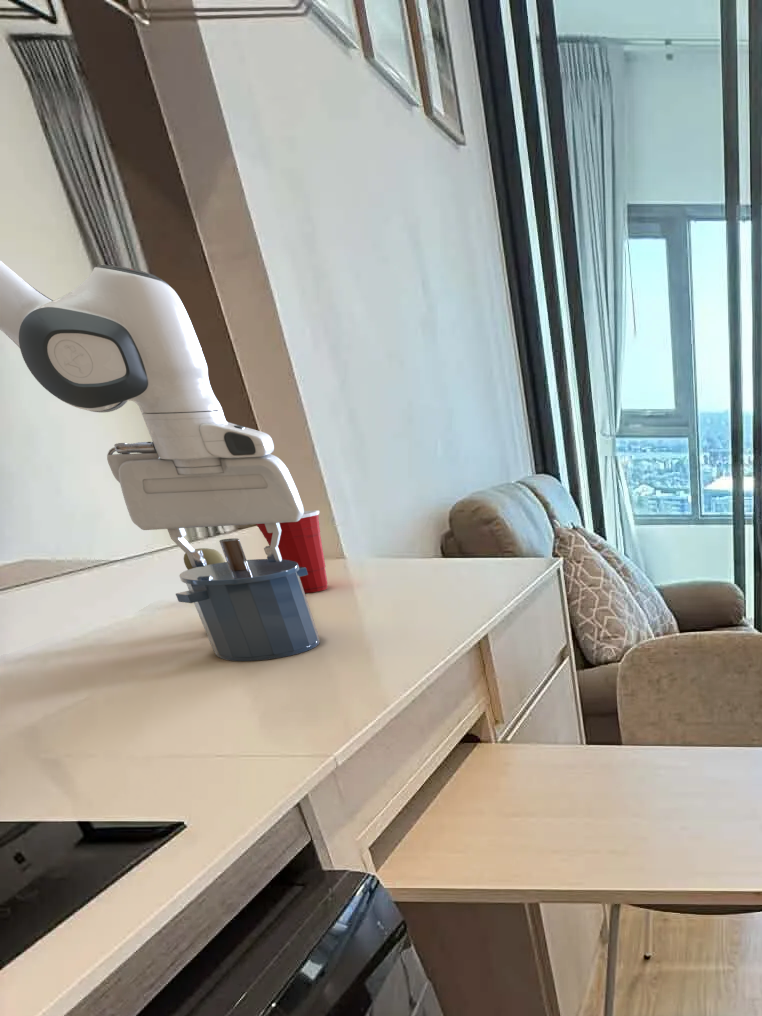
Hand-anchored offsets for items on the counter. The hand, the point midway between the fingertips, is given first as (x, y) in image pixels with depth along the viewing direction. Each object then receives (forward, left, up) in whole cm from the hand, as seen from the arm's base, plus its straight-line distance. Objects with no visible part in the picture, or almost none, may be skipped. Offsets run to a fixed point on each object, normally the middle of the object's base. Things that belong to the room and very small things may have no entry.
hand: (238, 563), depth 114 cm
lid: (0, 0, -1) cm, 1 cm away
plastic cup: (-26, +31, -11) cm, 42 cm away
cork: (-14, +5, -11) cm, 18 cm away
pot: (0, 0, -11) cm, 11 cm away
